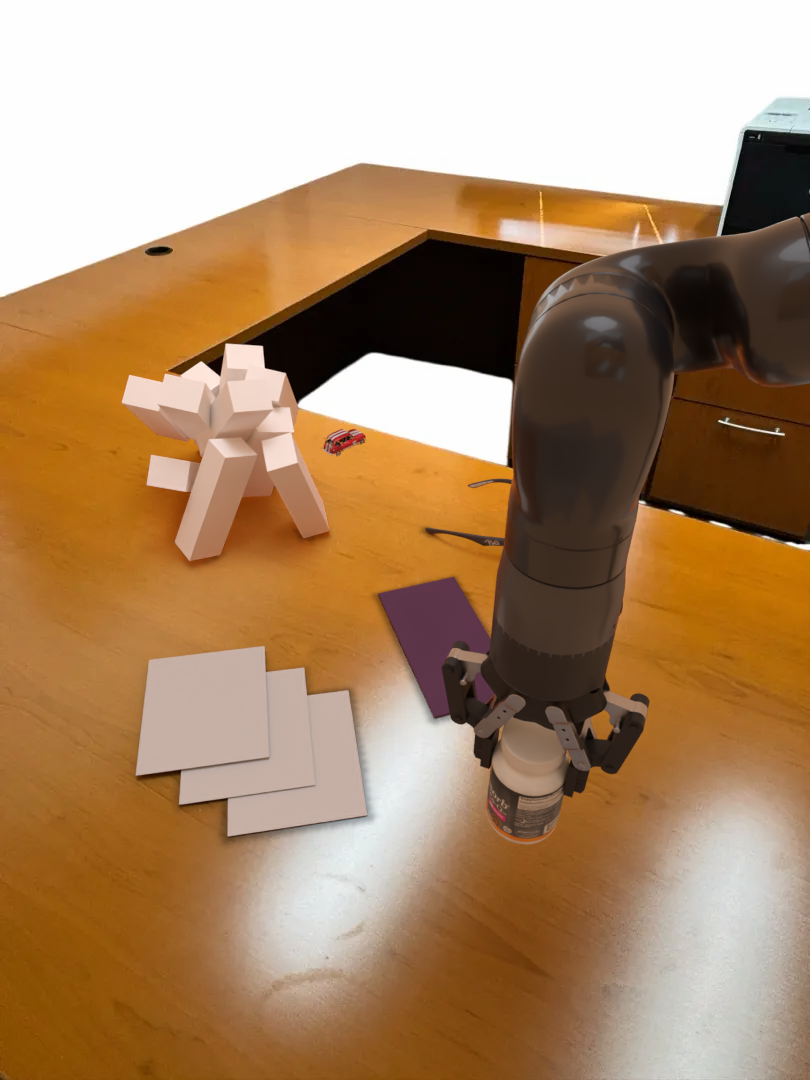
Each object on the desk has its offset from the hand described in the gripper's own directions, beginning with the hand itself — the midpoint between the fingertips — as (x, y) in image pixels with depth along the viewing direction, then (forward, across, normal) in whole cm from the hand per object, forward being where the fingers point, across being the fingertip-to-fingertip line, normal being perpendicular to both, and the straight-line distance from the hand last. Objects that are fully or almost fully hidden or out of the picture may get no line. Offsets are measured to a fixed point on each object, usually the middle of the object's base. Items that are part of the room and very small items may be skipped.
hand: (529, 772), depth 58 cm
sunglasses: (+21, -19, +56) cm, 63 cm away
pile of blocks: (+21, -57, +44) cm, 75 cm away
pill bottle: (+6, 0, 0) cm, 6 cm away
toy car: (+21, -50, +67) cm, 86 cm away
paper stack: (+21, -32, +8) cm, 40 cm away
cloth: (+21, -17, +30) cm, 41 cm away
